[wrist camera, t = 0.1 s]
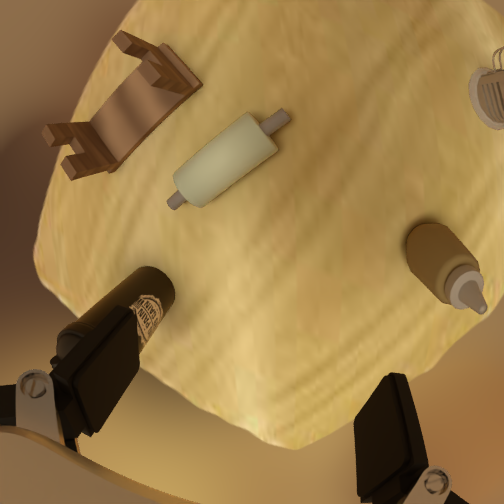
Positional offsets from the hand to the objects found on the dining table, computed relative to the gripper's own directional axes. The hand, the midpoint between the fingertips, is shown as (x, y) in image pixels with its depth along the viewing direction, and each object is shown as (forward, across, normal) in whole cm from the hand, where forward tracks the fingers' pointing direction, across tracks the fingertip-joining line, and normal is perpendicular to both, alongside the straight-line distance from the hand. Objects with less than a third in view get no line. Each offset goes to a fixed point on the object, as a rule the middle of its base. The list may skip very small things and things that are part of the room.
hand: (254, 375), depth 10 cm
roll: (+28, +9, -3) cm, 30 cm away
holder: (+31, +24, -9) cm, 40 cm away
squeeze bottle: (+31, -20, +1) cm, 37 cm away
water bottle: (+31, +19, +20) cm, 42 cm away
